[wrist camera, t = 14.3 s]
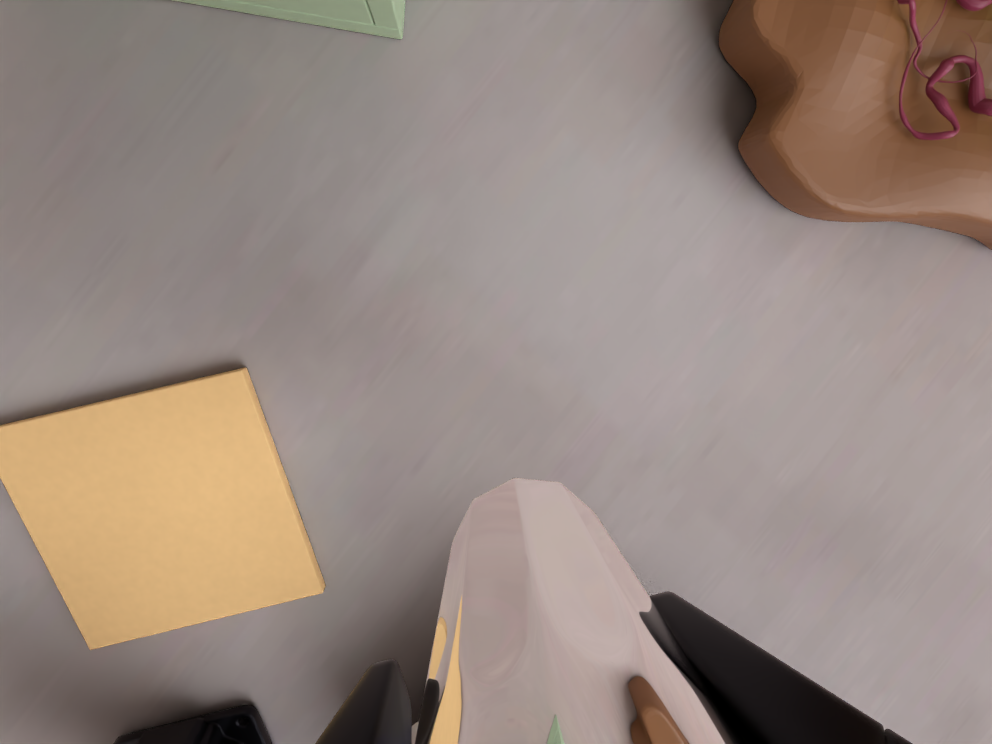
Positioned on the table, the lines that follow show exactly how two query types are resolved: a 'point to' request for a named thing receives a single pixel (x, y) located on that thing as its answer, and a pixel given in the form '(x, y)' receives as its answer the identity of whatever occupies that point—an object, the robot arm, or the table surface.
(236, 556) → the mat
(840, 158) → the plant
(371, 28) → the chest
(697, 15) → the table surface
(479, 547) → the milkshake
